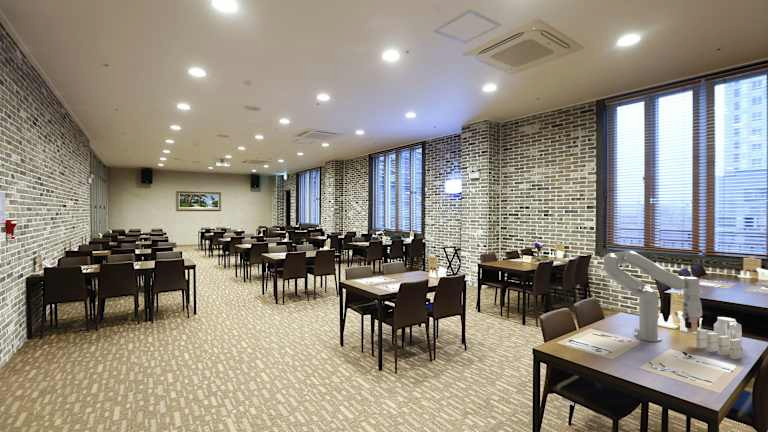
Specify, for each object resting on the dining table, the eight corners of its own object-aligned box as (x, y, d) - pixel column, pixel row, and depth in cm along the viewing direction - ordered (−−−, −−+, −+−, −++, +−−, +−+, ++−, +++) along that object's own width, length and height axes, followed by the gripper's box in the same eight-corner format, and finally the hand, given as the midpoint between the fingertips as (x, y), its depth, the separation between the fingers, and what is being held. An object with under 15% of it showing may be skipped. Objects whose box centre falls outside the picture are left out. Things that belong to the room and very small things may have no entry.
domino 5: (729, 357, 198) (729, 339, 198) (737, 356, 200) (737, 338, 200) (733, 359, 196) (733, 340, 197) (741, 357, 198) (741, 339, 198)
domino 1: (687, 331, 219) (686, 315, 219) (694, 330, 221) (694, 314, 221) (690, 332, 217) (690, 315, 217) (697, 331, 219) (697, 315, 219)
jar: (712, 342, 222) (712, 318, 222) (715, 339, 228) (715, 315, 228) (738, 347, 213) (738, 322, 213) (740, 344, 219) (740, 319, 219)
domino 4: (718, 354, 204) (718, 336, 204) (725, 353, 205) (725, 335, 205) (721, 355, 202) (721, 337, 202) (729, 354, 203) (729, 336, 203)
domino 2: (696, 347, 214) (696, 330, 214) (703, 346, 216) (703, 329, 216) (699, 348, 212) (699, 331, 212) (707, 347, 214) (707, 330, 214)
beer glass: (745, 352, 207) (745, 325, 207) (730, 351, 208) (730, 325, 208) (735, 347, 214) (735, 322, 214) (722, 346, 215) (722, 321, 215)
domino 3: (706, 350, 209) (706, 333, 209) (714, 349, 211) (714, 332, 210) (710, 351, 207) (710, 334, 207) (718, 350, 209) (718, 333, 209)
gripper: (688, 300, 213) (688, 330, 213) (708, 297, 218) (709, 327, 218) (674, 297, 220) (675, 327, 220) (695, 295, 225) (695, 324, 225)
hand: (692, 327), depth 219 cm, fingers closed on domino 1, 6 cm apart
